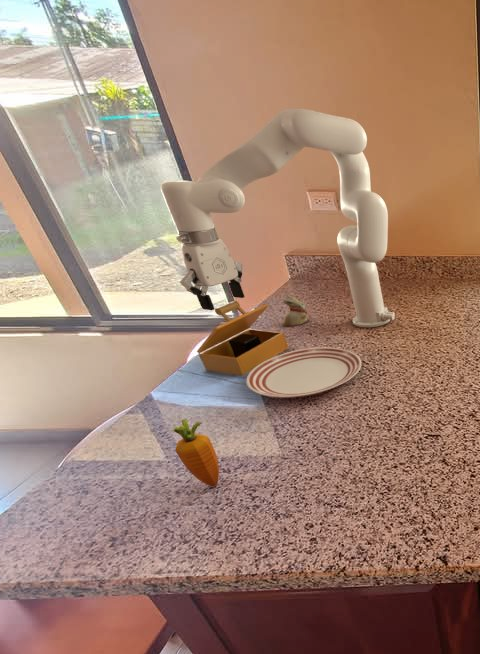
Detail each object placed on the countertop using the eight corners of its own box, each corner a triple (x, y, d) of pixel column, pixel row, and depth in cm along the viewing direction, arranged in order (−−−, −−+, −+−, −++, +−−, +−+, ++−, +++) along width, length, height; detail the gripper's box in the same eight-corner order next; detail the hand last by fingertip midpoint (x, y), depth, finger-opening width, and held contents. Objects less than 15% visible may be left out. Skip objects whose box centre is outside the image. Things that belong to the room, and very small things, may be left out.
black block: (265, 355, 123) (257, 335, 120) (252, 363, 119) (243, 342, 115) (250, 353, 124) (242, 333, 120) (236, 361, 120) (228, 340, 116)
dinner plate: (339, 346, 130) (336, 337, 129) (380, 380, 114) (378, 369, 112) (237, 377, 114) (233, 366, 112) (269, 421, 97) (264, 409, 96)
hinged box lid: (268, 305, 121) (253, 290, 119) (217, 329, 107) (199, 312, 105) (249, 327, 127) (234, 313, 125) (198, 353, 113) (180, 337, 111)
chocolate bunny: (308, 324, 144) (300, 296, 139) (283, 327, 142) (273, 298, 137) (309, 318, 149) (301, 290, 143) (284, 321, 146) (275, 293, 141)
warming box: (289, 349, 128) (283, 332, 125) (243, 377, 114) (236, 359, 111) (255, 345, 130) (249, 328, 127) (206, 372, 116) (198, 353, 113)
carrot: (208, 477, 82) (174, 414, 74) (235, 476, 82) (204, 413, 74) (193, 496, 78) (155, 432, 70) (221, 495, 78) (187, 431, 70)
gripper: (179, 245, 96) (208, 316, 105) (240, 231, 110) (261, 294, 119) (152, 243, 97) (183, 313, 106) (216, 229, 112) (238, 291, 120)
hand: (224, 303), depth 113 cm, fingers open, 9 cm apart
